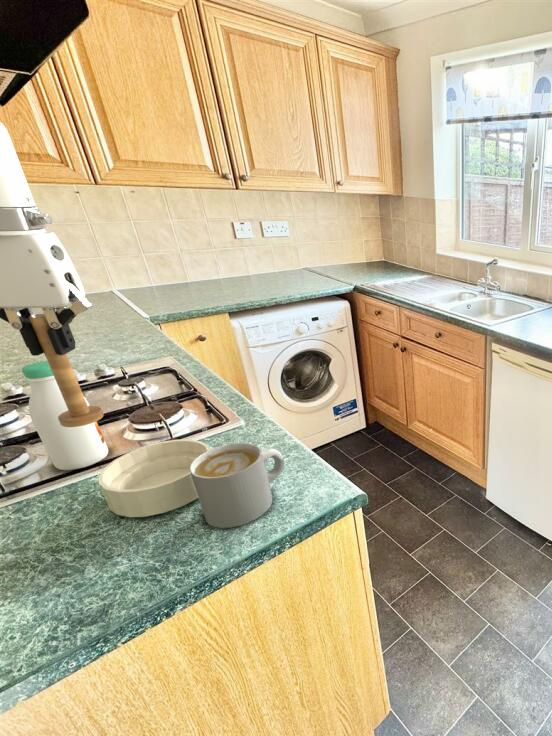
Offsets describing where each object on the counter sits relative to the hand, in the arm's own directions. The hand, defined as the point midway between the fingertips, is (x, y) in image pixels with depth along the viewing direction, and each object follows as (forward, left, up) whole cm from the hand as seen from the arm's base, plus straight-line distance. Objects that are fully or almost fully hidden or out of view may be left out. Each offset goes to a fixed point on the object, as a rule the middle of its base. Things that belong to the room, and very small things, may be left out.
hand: (54, 351), depth 62 cm
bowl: (+6, +5, -27) cm, 28 cm away
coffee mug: (+21, +11, -27) cm, 36 cm away
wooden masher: (0, 0, -12) cm, 12 cm away
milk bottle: (-17, +1, -27) cm, 32 cm away
